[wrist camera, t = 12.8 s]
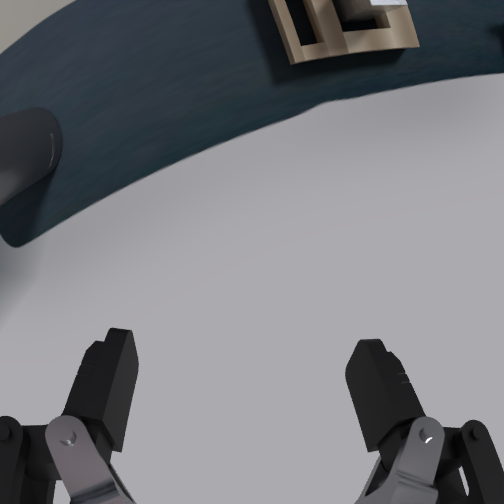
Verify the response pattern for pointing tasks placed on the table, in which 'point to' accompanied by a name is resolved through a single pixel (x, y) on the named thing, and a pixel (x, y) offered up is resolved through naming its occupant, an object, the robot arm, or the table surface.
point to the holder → (342, 43)
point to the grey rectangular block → (364, 9)
